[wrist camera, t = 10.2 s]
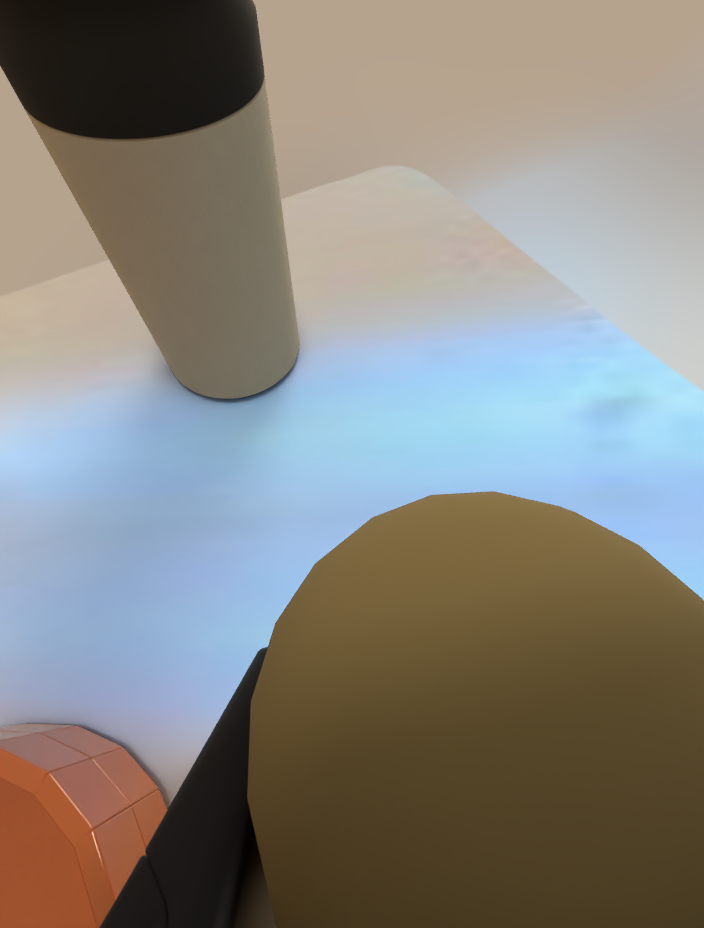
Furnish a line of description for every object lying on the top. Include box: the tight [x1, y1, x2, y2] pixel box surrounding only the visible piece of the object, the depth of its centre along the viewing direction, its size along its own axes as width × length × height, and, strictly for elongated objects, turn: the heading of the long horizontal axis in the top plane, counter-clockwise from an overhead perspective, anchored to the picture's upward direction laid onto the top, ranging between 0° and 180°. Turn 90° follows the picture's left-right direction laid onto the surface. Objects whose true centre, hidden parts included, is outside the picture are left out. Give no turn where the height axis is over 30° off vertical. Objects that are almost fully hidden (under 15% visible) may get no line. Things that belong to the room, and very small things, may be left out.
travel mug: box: [0, 0, 299, 399], centre depth 18 cm, size 8×8×18 cm
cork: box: [247, 492, 704, 928], centre depth 8 cm, size 6×6×11 cm
